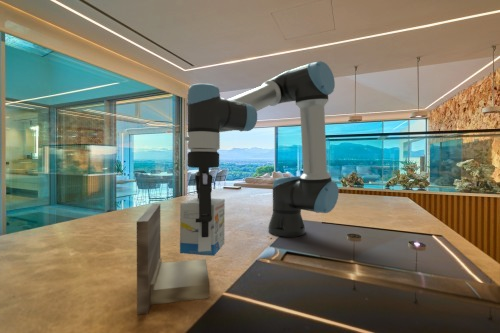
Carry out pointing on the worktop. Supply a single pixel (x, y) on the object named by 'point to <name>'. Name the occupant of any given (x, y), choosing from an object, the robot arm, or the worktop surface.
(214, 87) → the robot arm
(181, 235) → the ink box
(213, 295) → the worktop surface
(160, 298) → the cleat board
